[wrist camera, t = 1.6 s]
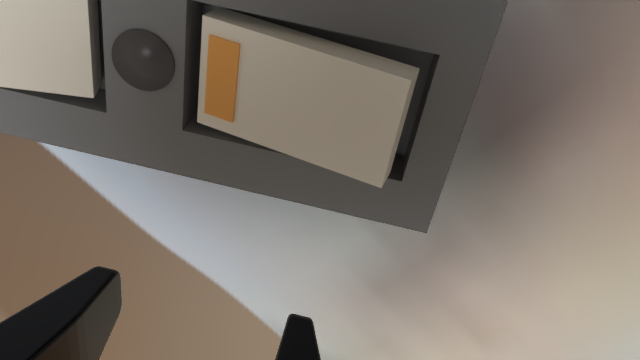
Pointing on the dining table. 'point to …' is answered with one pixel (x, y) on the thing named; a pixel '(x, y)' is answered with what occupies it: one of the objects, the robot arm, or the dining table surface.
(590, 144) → the dining table surface
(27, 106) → the rocker switch box
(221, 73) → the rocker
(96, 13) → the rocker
